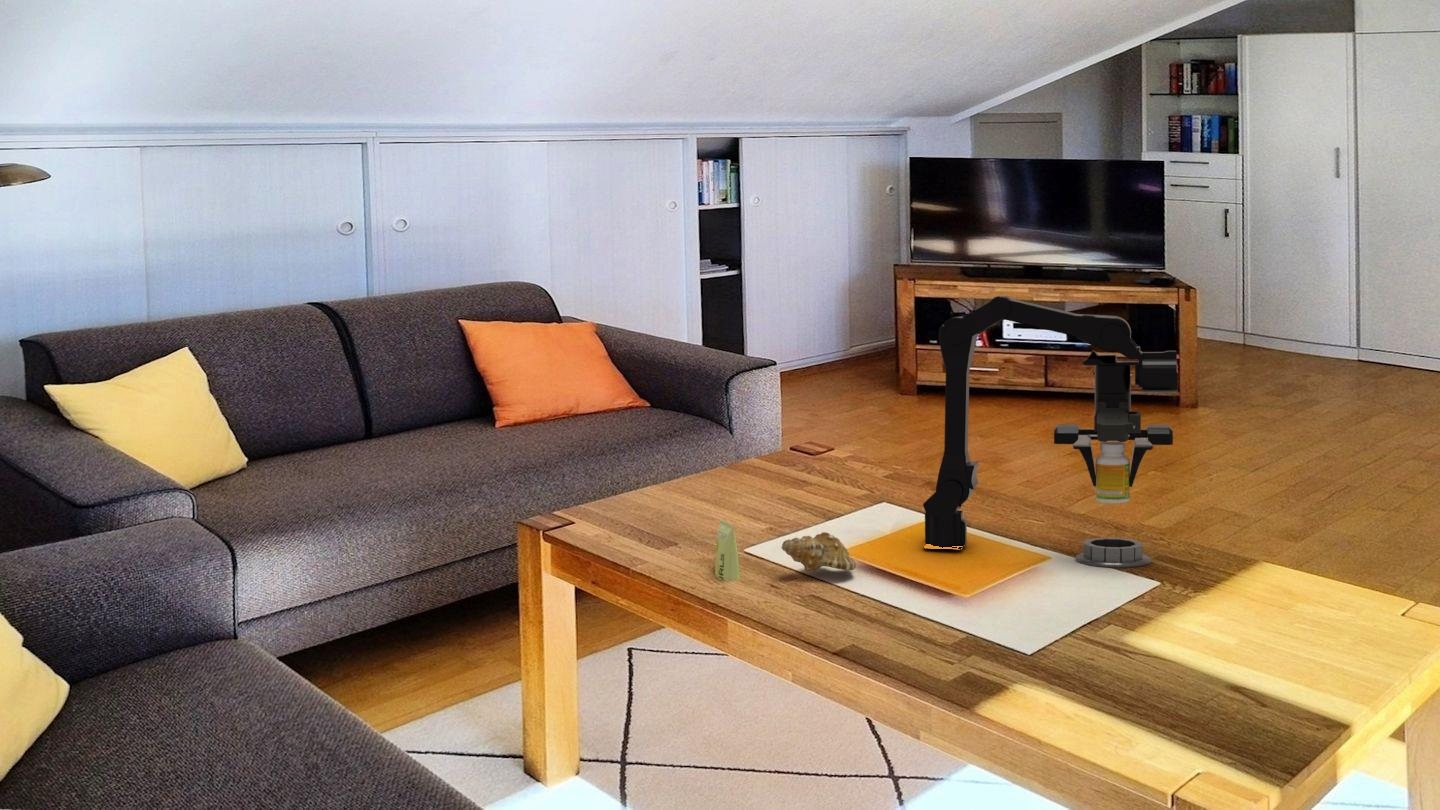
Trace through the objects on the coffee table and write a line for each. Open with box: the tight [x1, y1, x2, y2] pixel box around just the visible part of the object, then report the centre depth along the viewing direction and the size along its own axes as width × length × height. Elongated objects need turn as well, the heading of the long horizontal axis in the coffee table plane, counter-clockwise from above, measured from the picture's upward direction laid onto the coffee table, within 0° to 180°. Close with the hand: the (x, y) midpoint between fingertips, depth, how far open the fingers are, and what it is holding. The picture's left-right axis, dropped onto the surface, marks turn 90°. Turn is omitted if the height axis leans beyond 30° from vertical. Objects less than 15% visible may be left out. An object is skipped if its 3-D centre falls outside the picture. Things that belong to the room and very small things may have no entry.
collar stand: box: [1075, 537, 1152, 569], centre depth 224 cm, size 12×12×3 cm
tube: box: [714, 519, 741, 582], centre depth 222 cm, size 6×5×20 cm
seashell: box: [780, 531, 857, 572], centre depth 220 cm, size 9×8×10 cm
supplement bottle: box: [1095, 441, 1131, 504], centre depth 223 cm, size 5×5×10 cm
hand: (1112, 486), depth 223 cm, fingers closed on supplement bottle, 5 cm apart
